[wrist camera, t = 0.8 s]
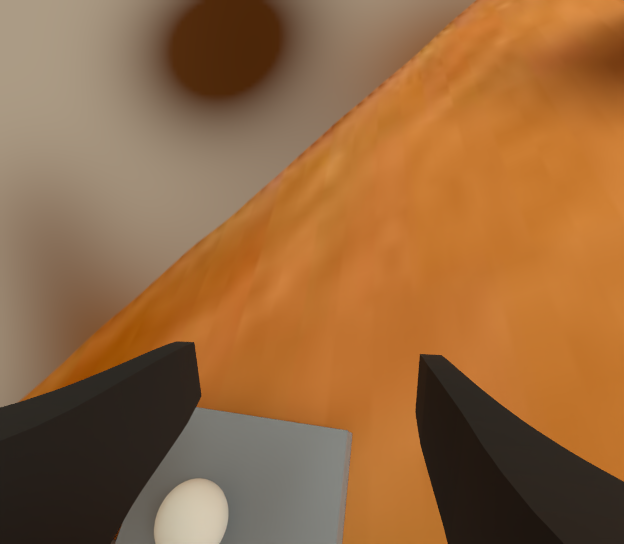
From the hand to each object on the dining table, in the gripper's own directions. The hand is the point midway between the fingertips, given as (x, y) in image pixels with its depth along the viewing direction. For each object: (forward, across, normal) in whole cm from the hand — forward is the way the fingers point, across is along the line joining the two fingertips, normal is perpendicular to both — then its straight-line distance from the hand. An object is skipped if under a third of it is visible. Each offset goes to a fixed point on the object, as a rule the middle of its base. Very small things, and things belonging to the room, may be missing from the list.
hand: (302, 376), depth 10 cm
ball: (+4, +8, +13) cm, 15 cm away
